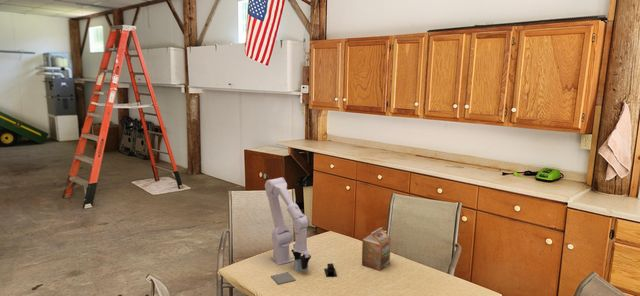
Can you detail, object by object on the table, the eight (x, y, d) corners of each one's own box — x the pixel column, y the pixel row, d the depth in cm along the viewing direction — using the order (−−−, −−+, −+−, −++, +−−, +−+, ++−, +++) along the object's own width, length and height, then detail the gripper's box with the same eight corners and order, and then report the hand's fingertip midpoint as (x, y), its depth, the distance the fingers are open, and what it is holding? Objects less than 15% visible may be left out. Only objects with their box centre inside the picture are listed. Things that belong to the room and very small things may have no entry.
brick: (293, 269, 218) (293, 260, 217) (304, 267, 221) (304, 257, 220) (297, 272, 214) (297, 263, 214) (308, 270, 217) (308, 260, 216)
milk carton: (379, 271, 217) (380, 235, 213) (361, 265, 223) (362, 230, 220) (389, 264, 225) (391, 229, 222) (372, 258, 231) (373, 225, 228)
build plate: (322, 268, 220) (322, 260, 220) (336, 268, 221) (336, 259, 220) (324, 279, 208) (324, 270, 207) (339, 279, 209) (339, 270, 208)
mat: (270, 277, 209) (270, 275, 209) (287, 273, 214) (287, 271, 213) (278, 284, 201) (278, 283, 201) (295, 280, 206) (295, 279, 206)
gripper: (287, 236, 219) (287, 262, 221) (300, 246, 207) (300, 273, 209) (300, 234, 223) (300, 259, 225) (313, 244, 210) (313, 270, 212)
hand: (301, 265), depth 217 cm, fingers open, 7 cm apart
